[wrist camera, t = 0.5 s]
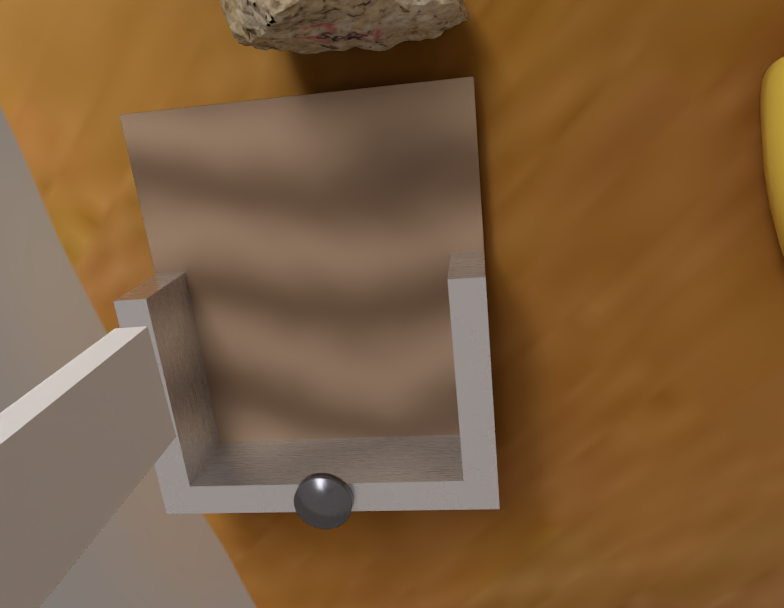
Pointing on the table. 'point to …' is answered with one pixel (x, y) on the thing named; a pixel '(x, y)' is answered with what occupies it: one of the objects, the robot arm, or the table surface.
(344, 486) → the cradle rails
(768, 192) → the teapot
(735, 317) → the table surface
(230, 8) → the rock
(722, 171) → the table surface
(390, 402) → the cradle board
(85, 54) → the table surface
